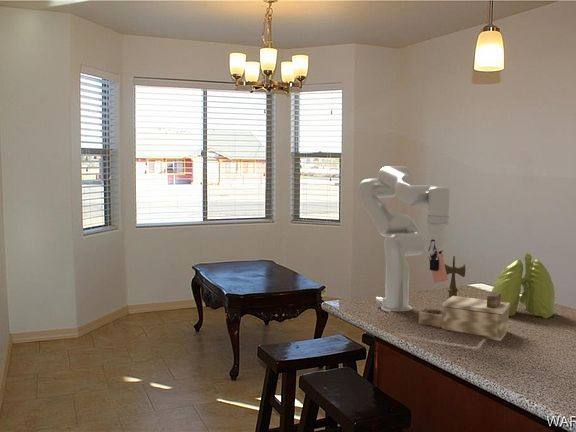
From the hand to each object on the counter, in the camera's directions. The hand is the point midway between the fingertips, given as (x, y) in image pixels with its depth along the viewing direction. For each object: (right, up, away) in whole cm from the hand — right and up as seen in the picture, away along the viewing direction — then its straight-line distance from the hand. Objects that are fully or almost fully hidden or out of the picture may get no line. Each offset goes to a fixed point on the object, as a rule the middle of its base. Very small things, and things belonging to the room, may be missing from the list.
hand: (436, 268), depth 213 cm
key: (+2, -4, -1) cm, 5 cm away
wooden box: (+8, -22, -4) cm, 24 cm away
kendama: (+18, -18, +41) cm, 48 cm away
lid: (+13, -13, -7) cm, 19 cm away
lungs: (+40, -20, +21) cm, 49 cm away
